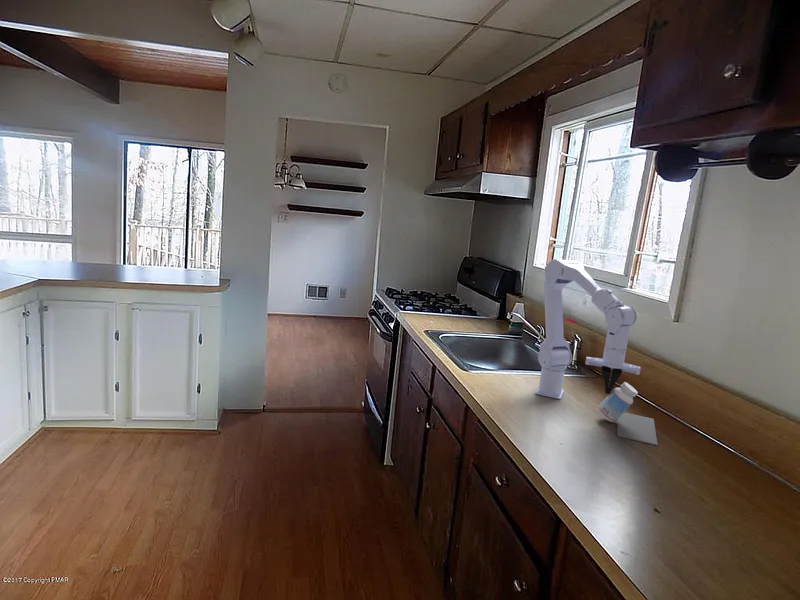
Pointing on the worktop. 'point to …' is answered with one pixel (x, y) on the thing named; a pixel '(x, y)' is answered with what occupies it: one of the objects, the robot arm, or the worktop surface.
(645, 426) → the mat
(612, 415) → the pill bottle
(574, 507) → the worktop surface
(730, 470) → the worktop surface
